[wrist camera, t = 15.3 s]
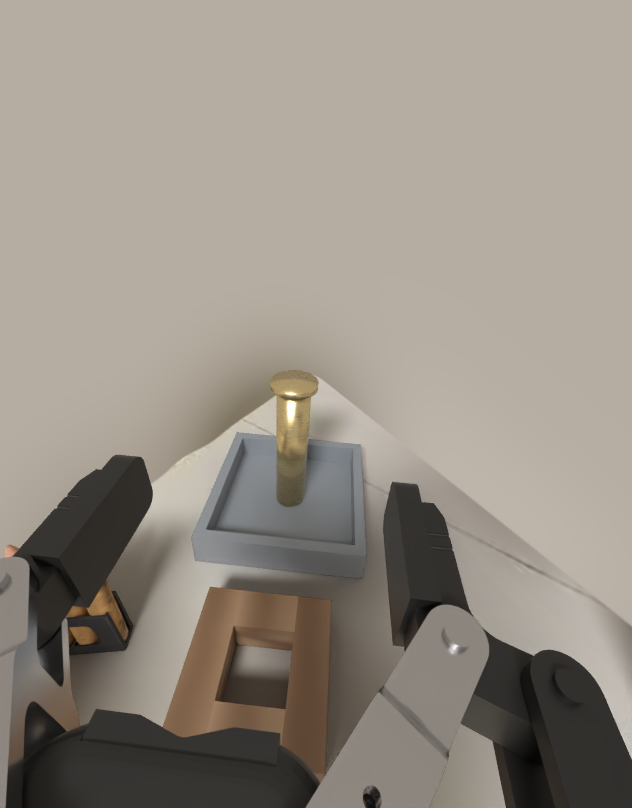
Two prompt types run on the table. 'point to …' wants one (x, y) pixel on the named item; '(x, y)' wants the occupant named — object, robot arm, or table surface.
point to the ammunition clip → (96, 622)
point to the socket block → (270, 628)
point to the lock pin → (292, 433)
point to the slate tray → (286, 511)
